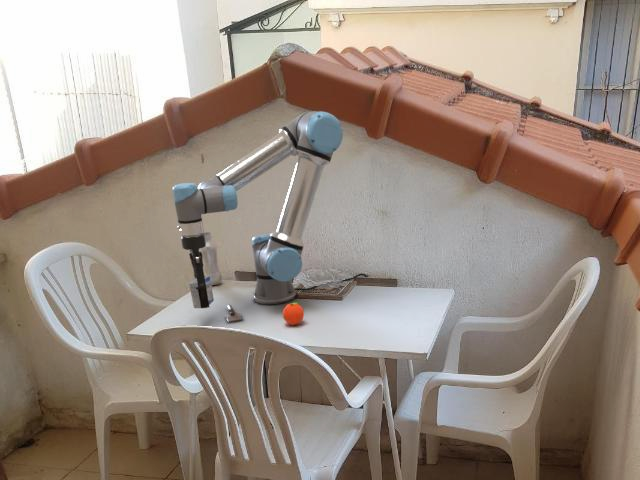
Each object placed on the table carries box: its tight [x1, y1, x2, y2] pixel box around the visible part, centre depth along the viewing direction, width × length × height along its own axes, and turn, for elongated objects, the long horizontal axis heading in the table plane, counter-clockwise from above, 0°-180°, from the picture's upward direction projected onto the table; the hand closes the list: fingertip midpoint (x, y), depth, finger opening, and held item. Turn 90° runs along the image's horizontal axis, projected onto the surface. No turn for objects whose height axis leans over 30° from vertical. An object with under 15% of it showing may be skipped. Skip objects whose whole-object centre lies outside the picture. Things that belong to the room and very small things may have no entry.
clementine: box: [282, 302, 305, 326], centre depth 227 cm, size 8×7×7 cm
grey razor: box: [225, 304, 243, 324], centre depth 241 cm, size 16×5×2 cm, turn 15°
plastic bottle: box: [199, 231, 222, 286], centre depth 272 cm, size 6×7×20 cm
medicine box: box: [188, 275, 215, 309], centre depth 230 cm, size 8×4×9 cm, turn 168°
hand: (203, 303), depth 232 cm, fingers closed on medicine box, 9 cm apart
